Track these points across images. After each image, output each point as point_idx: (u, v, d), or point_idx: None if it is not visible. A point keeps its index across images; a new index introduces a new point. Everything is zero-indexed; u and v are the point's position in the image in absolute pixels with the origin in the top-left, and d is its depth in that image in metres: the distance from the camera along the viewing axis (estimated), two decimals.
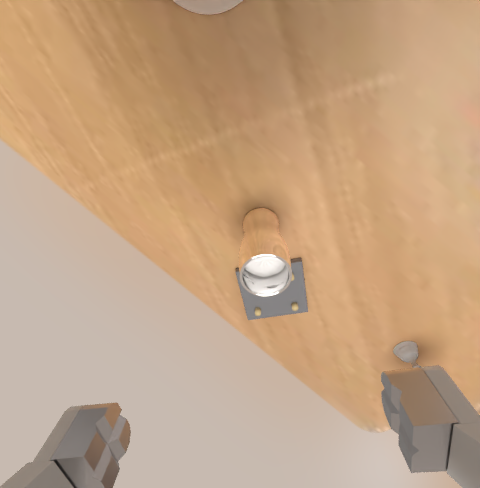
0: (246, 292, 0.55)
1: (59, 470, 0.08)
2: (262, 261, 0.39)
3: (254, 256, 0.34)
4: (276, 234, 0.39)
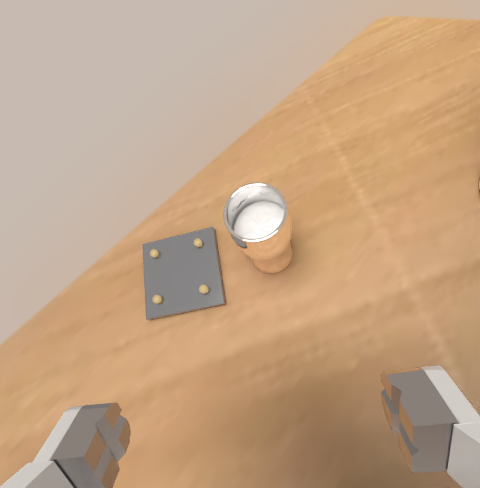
0: (183, 240, 0.45)
1: (60, 470, 0.08)
2: (258, 223, 0.33)
3: (283, 196, 0.29)
4: (288, 243, 0.33)
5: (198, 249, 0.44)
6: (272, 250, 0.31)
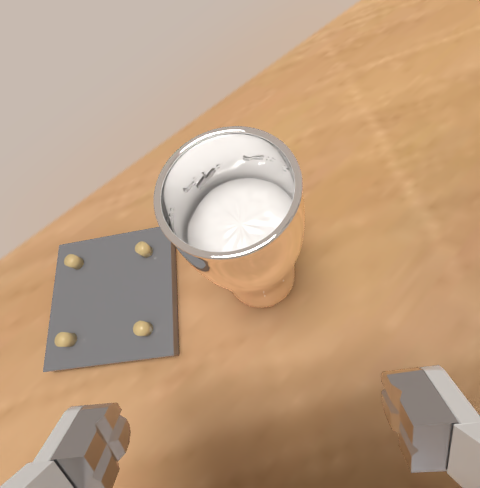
0: (122, 243, 0.28)
1: (59, 470, 0.08)
2: (236, 219, 0.16)
3: (293, 157, 0.12)
4: (294, 263, 0.16)
5: (143, 259, 0.27)
6: (261, 278, 0.14)
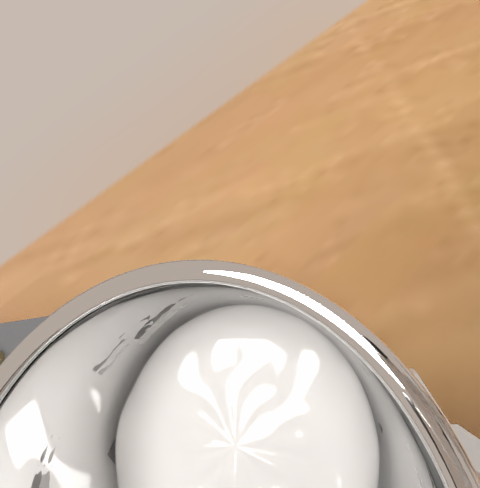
0: None
1: None
2: (225, 431, 0.07)
3: (445, 429, 0.03)
4: None
5: None
6: None
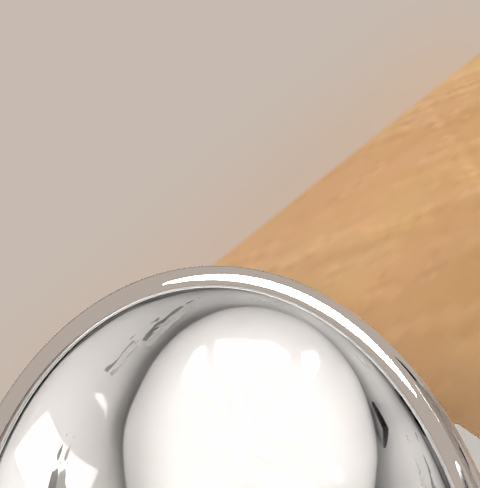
0: None
1: None
2: (231, 429, 0.07)
3: (444, 419, 0.03)
4: None
5: None
6: None
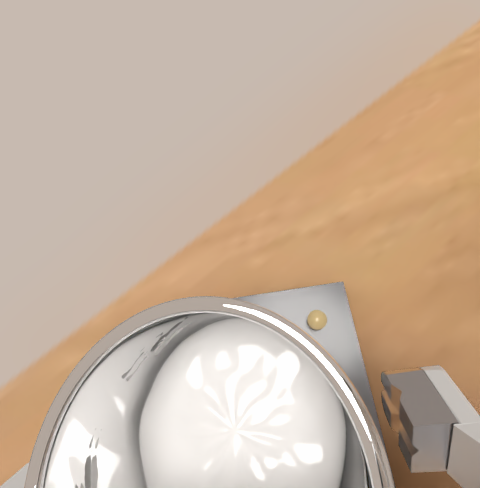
0: (274, 306, 0.20)
1: None
2: (225, 420, 0.09)
3: (358, 399, 0.05)
4: None
5: (313, 333, 0.19)
6: None
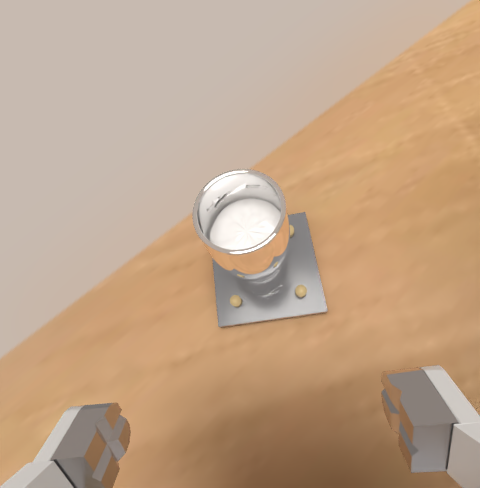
0: None
1: (60, 470, 0.08)
2: (243, 228, 0.23)
3: (279, 188, 0.20)
4: (284, 255, 0.24)
5: None
6: (263, 266, 0.22)
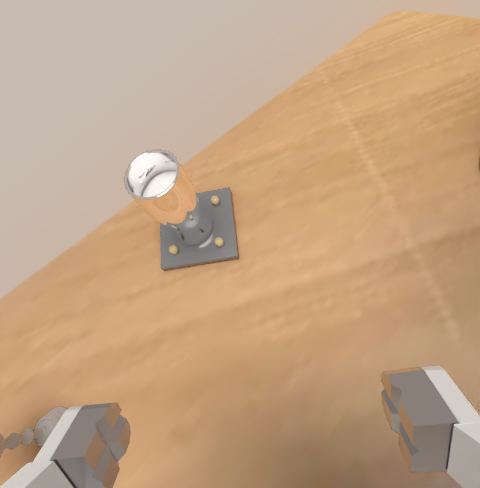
0: (200, 198, 0.47)
1: (60, 469, 0.08)
2: (163, 189, 0.36)
3: (177, 160, 0.32)
4: (191, 208, 0.36)
5: (214, 207, 0.46)
6: (171, 212, 0.34)
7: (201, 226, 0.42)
